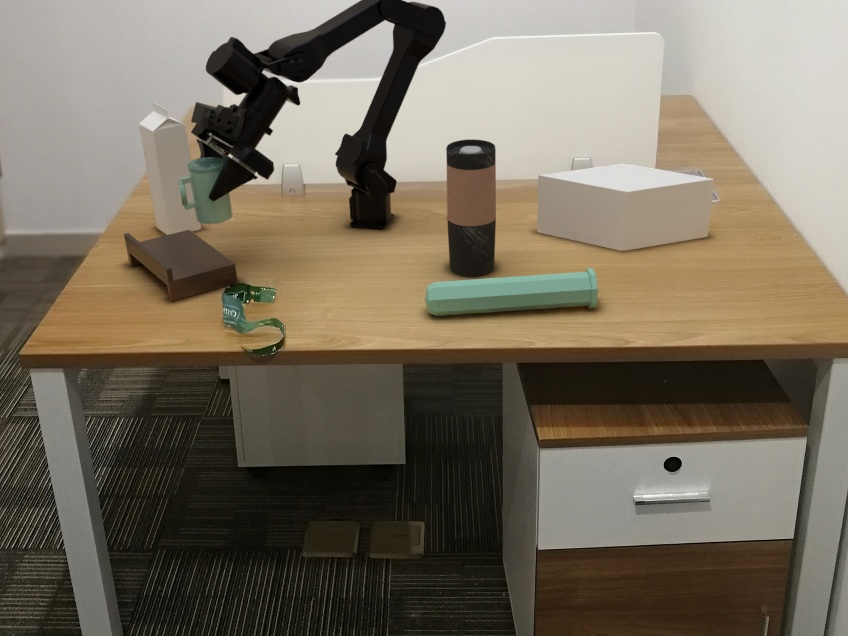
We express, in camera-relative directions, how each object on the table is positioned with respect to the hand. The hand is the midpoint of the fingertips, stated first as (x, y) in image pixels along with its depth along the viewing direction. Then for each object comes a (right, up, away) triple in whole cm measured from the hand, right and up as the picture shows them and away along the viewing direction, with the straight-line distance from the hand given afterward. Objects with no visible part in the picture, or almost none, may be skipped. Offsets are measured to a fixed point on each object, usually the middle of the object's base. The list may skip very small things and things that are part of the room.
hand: (202, 194), depth 161 cm
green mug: (+1, -3, +3) cm, 4 cm away
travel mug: (+43, -11, +3) cm, 44 cm away
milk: (-9, -3, +20) cm, 23 cm away
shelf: (-4, -12, +3) cm, 13 cm away
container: (+48, -19, -10) cm, 52 cm away
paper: (+69, -5, +14) cm, 70 cm away
